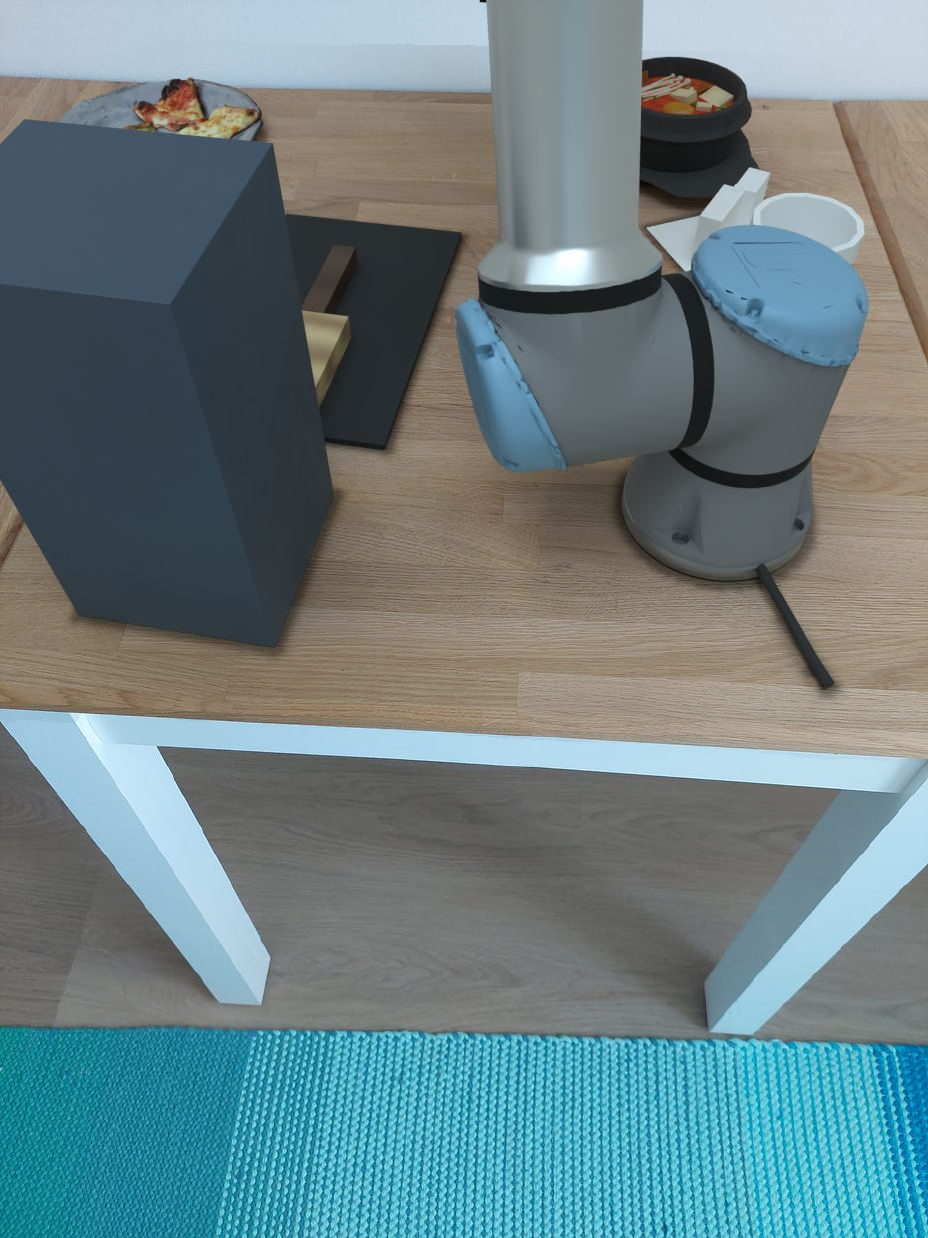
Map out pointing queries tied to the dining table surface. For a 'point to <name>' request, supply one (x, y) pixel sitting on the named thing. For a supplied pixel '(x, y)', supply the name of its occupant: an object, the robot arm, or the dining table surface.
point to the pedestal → (158, 377)
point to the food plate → (173, 109)
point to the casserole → (693, 126)
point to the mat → (374, 315)
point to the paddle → (328, 317)
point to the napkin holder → (713, 217)
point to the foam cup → (814, 220)
